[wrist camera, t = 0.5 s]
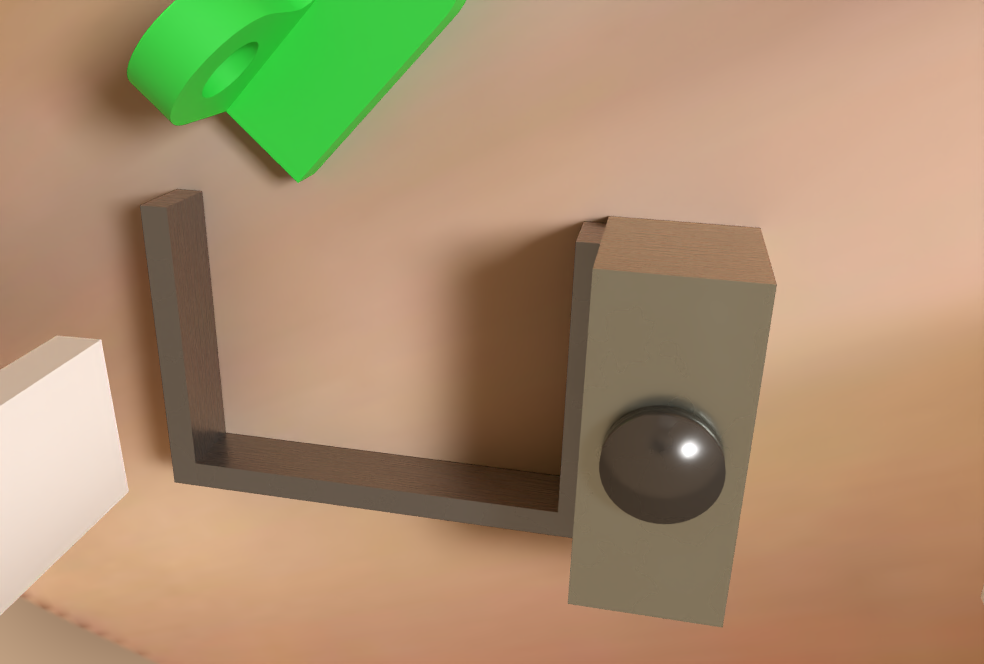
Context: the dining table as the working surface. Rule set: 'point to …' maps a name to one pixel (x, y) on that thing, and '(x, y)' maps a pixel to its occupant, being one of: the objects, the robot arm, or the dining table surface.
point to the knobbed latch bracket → (587, 420)
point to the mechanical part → (284, 66)
